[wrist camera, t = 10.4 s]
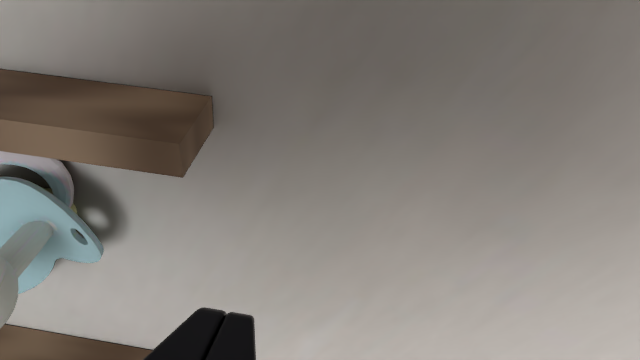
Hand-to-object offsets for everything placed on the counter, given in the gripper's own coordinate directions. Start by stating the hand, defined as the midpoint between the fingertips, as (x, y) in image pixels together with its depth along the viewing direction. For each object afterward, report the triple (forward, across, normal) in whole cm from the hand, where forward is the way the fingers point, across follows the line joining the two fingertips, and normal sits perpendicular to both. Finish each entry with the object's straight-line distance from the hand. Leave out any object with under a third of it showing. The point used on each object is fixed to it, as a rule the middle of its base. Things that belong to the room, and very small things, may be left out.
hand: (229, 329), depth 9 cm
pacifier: (+11, +12, +8) cm, 18 cm away
